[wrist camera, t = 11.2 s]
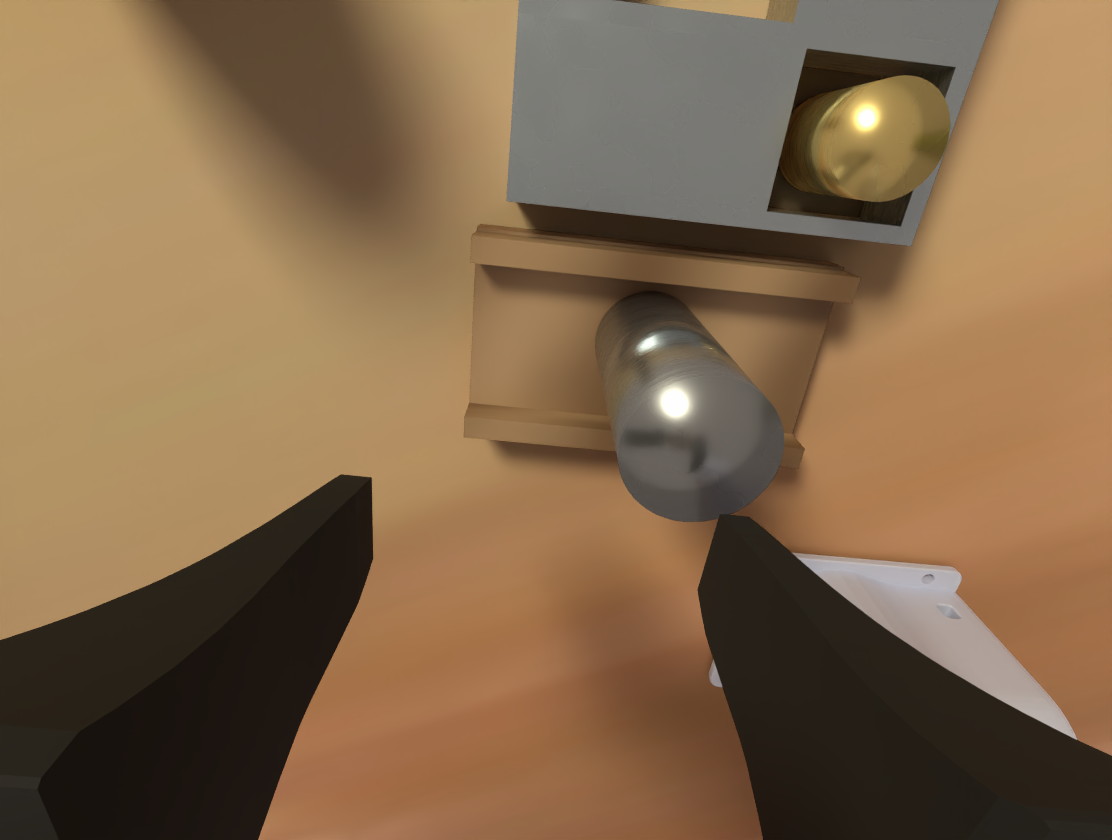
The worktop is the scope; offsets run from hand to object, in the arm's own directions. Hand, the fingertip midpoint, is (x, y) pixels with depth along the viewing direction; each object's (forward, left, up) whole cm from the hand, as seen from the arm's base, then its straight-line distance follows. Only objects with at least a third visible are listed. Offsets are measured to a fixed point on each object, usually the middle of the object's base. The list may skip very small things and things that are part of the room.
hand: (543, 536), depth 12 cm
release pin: (-8, -8, -10) cm, 15 cm away
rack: (-3, -1, -10) cm, 11 cm away
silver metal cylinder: (-3, -2, -9) cm, 10 cm away
